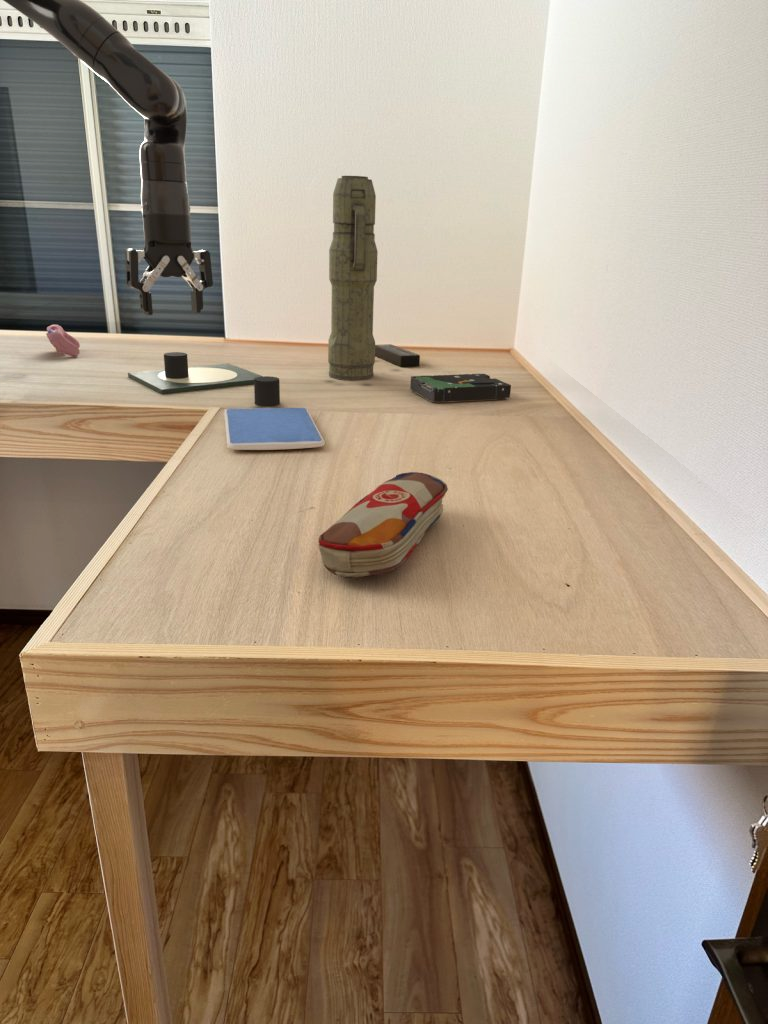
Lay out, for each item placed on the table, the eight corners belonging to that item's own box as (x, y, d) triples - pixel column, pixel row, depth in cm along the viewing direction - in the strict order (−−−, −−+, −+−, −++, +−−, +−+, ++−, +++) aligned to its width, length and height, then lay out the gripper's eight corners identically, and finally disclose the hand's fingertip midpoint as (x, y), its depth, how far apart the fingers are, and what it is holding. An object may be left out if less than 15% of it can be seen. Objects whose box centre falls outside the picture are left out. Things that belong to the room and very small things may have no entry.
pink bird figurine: (62, 356, 156) (42, 326, 153) (81, 346, 157) (62, 316, 153) (61, 365, 148) (39, 333, 144) (81, 354, 148) (60, 323, 145)
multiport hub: (401, 367, 150) (401, 355, 150) (372, 355, 162) (373, 344, 162) (420, 366, 152) (420, 355, 151) (390, 354, 164) (391, 344, 163)
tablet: (224, 415, 109) (223, 407, 109) (307, 414, 112) (307, 405, 111) (227, 454, 92) (226, 444, 91) (326, 451, 94) (326, 441, 94)
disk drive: (482, 388, 135) (408, 390, 130) (483, 373, 134) (409, 374, 128) (510, 400, 126) (433, 404, 121) (512, 384, 125) (434, 387, 120)
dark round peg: (170, 379, 127) (169, 356, 126) (161, 375, 130) (160, 353, 128) (192, 377, 129) (190, 354, 128) (183, 373, 132) (181, 351, 131)
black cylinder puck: (262, 407, 115) (261, 382, 113) (250, 402, 118) (249, 377, 116) (284, 404, 117) (284, 379, 115) (272, 399, 120) (271, 375, 118)
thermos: (338, 382, 134) (341, 173, 121) (320, 370, 144) (321, 176, 131) (383, 380, 137) (390, 176, 124) (362, 369, 147) (367, 179, 134)
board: (161, 394, 121) (161, 388, 120) (128, 376, 132) (127, 372, 132) (268, 382, 132) (268, 377, 132) (228, 367, 144) (228, 362, 143)
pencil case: (275, 563, 63) (273, 510, 61) (397, 500, 79) (399, 456, 77) (379, 601, 58) (381, 543, 56) (489, 525, 73) (493, 478, 71)
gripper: (197, 213, 126) (202, 310, 132) (114, 209, 118) (123, 312, 124) (216, 214, 120) (220, 315, 126) (130, 210, 112) (139, 318, 118)
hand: (172, 313), depth 125 cm, fingers open, 8 cm apart
